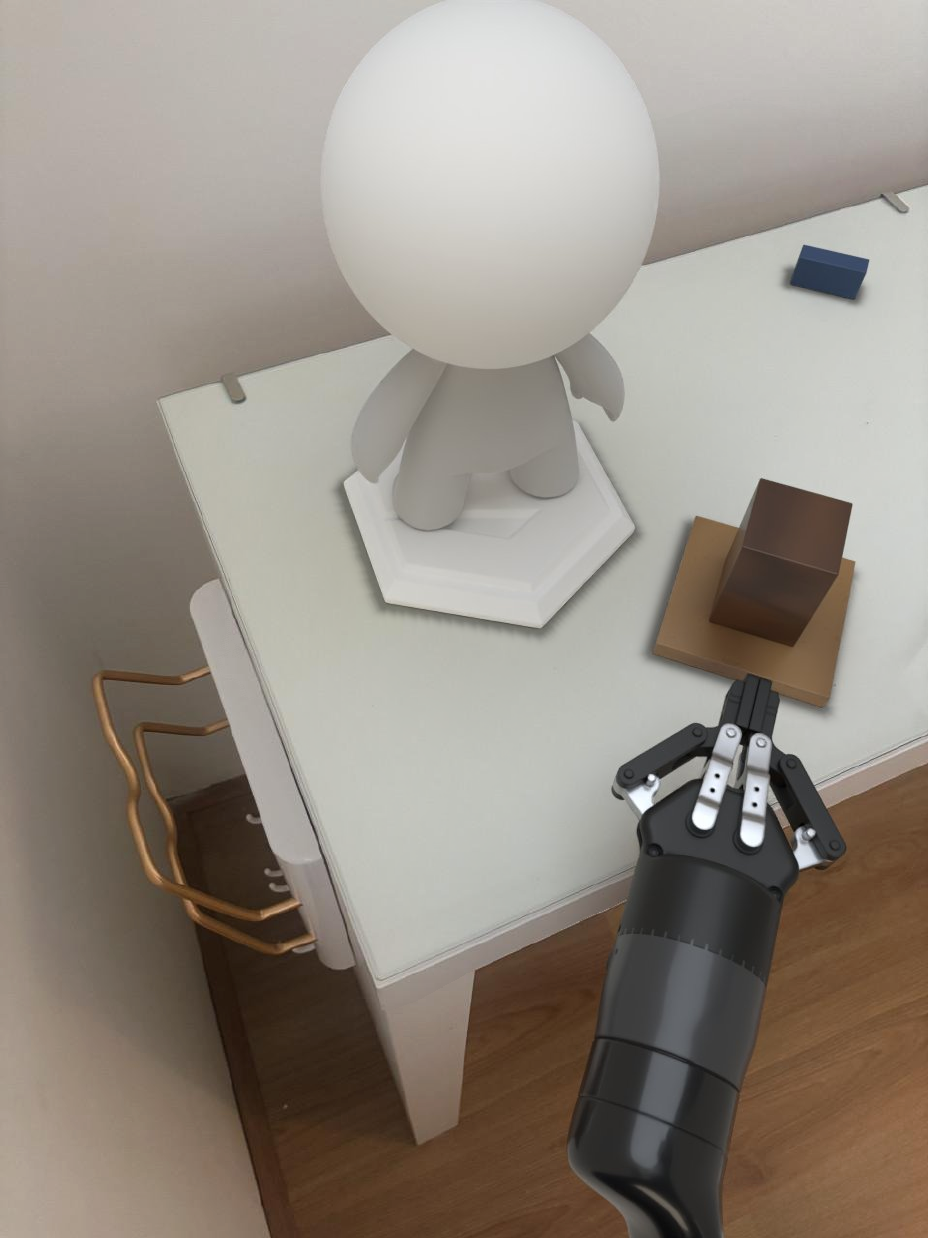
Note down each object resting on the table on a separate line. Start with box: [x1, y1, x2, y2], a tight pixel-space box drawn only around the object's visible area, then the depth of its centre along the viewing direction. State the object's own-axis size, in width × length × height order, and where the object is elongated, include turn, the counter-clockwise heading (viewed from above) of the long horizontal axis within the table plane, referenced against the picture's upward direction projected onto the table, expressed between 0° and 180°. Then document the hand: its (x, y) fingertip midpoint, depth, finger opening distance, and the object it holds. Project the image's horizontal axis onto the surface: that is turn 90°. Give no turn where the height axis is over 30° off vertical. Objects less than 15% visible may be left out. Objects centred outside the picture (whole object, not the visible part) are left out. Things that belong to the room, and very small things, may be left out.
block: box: [652, 477, 856, 708], centre depth 62 cm, size 12×12×10 cm
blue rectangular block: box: [789, 244, 870, 300], centre depth 84 cm, size 6×2×3 cm, turn 69°
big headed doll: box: [320, 0, 660, 629], centre depth 57 cm, size 20×23×35 cm
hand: (755, 682), depth 54 cm, fingers closed
